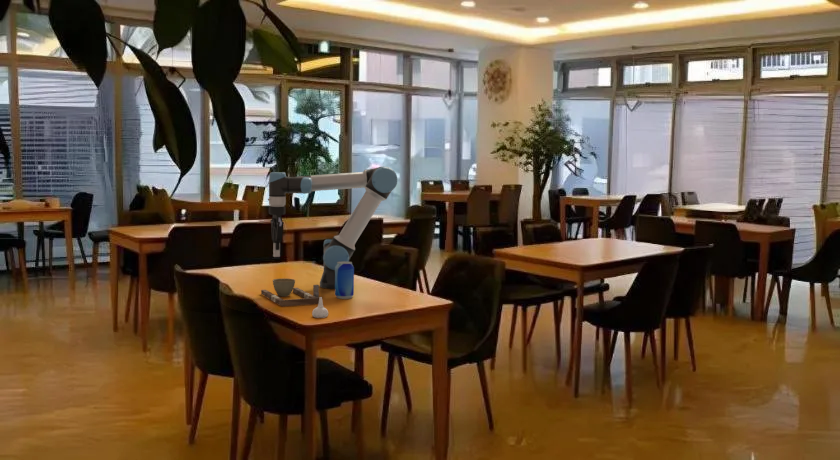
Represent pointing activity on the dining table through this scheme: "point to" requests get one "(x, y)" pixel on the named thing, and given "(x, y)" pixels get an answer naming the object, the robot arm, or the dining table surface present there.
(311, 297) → the rail channel
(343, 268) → the beer can
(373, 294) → the dining table surface
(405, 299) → the dining table surface
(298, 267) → the dining table surface
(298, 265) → the dining table surface
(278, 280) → the flower pot
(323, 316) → the garlic bulb
